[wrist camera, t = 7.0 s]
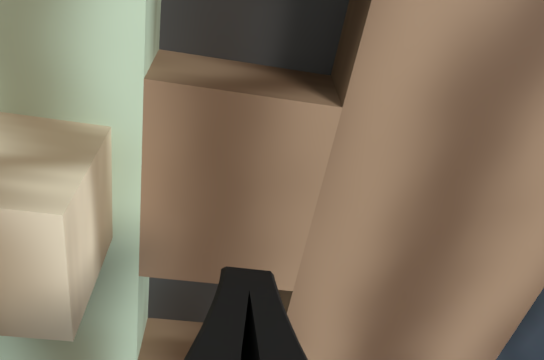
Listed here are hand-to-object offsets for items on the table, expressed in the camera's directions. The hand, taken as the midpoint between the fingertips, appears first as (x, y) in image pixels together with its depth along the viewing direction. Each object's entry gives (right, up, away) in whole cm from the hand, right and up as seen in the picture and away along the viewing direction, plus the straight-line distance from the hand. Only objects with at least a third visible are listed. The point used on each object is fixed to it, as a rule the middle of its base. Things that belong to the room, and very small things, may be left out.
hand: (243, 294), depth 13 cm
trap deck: (+1, +4, +6) cm, 7 cm away
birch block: (-7, +3, +3) cm, 8 cm away
